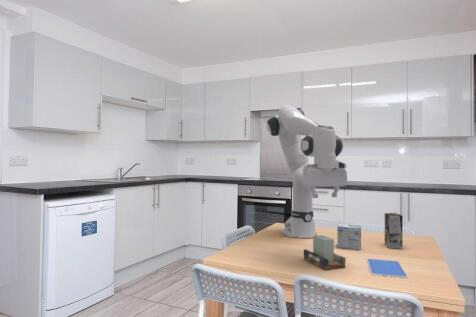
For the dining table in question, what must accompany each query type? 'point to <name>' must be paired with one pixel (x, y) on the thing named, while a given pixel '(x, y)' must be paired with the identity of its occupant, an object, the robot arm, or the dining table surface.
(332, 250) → the plain green carton
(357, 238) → the light bulb box
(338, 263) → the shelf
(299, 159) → the robot arm
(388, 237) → the coffee box
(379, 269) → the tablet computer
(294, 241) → the dining table surface
